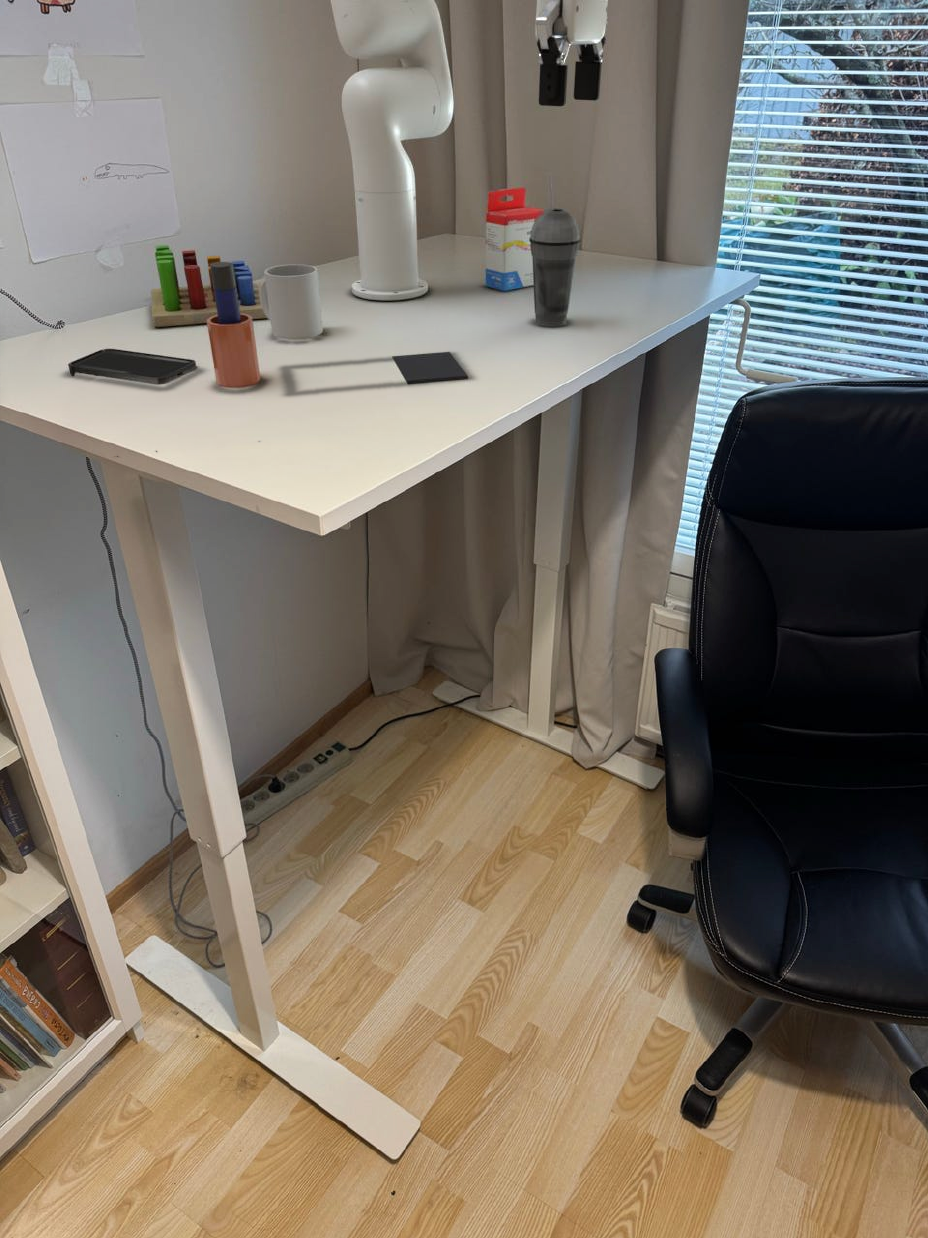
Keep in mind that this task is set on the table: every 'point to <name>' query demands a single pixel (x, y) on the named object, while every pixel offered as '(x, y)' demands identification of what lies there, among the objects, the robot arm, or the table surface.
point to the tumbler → (234, 352)
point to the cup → (292, 301)
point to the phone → (132, 366)
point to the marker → (225, 292)
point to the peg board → (197, 291)
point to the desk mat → (429, 367)
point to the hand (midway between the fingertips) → (569, 102)
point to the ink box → (509, 240)
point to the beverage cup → (553, 263)
